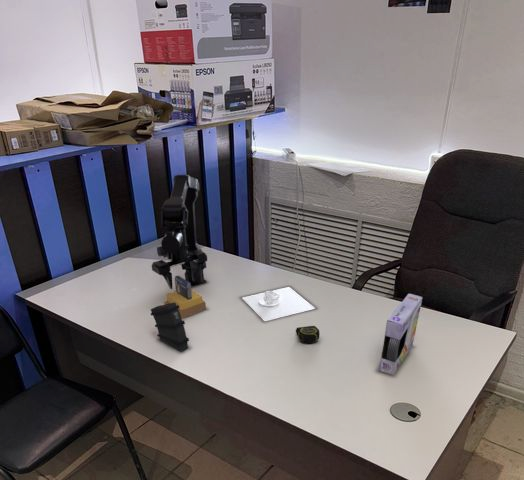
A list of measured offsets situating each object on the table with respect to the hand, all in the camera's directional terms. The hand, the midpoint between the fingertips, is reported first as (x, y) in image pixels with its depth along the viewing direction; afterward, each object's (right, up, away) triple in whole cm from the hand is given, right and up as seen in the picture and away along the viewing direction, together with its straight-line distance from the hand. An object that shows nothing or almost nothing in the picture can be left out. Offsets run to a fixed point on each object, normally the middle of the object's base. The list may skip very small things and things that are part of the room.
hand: (182, 284), depth 171 cm
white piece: (+33, -6, +8) cm, 35 cm away
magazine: (-1, -21, -14) cm, 25 cm away
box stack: (0, -8, +5) cm, 10 cm away
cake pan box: (+68, -26, -24) cm, 76 cm away
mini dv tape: (0, -4, +3) cm, 4 cm away
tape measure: (+42, -19, -13) cm, 48 cm away
